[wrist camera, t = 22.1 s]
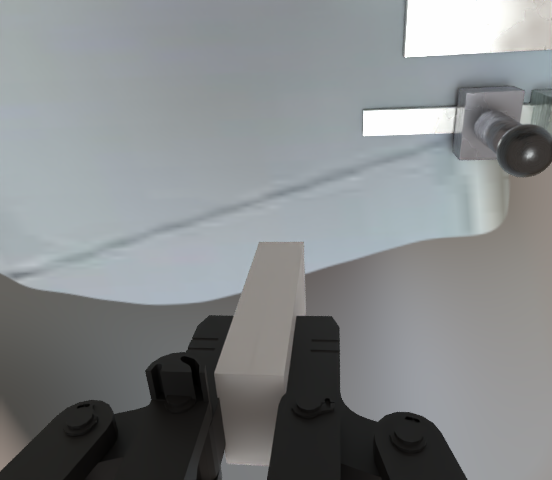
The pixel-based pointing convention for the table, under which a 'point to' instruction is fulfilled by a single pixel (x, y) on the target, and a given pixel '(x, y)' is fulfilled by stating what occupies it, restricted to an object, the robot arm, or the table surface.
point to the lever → (500, 131)
